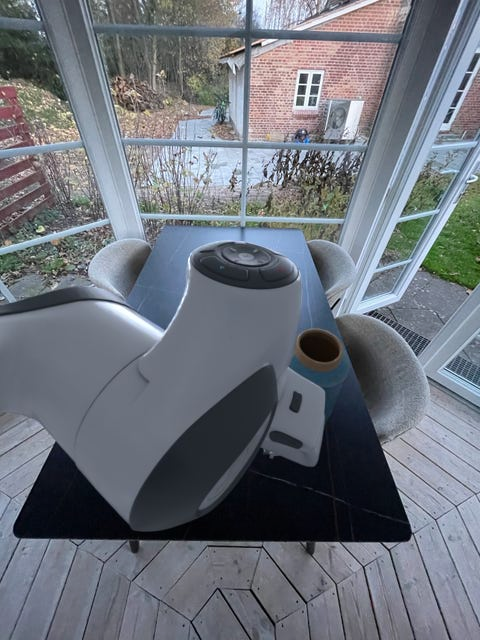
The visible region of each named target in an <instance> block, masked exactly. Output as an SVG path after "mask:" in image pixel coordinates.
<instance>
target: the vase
mask: <svg viewBox="0 0 480 640" xmlns="http://www.w3.org/2000/svg"><path fill="white" fill-rule="evenodd" d="M289 368H290V369H291V370H293V371H294V372H296V373H297V374H299V375H300V376H302V377H304V378H305V379H307V380H309V381H310V382H312V383H314V384H316V385H318V386H319V387H321V388H322V389H323V390H324V391H325V409H324V415H325V424H324V428H326V426H327V424H328V421H329V420H330V417H331V415H332V413H333V411H334V408H335V405H336V403H337V400H338V398H339V396H340V394H341V392H342V389H343V387H344V384H345V382H346V380H347V378H348V377H349V373H350V368H351V363H350V359H349V356H348V354H347V352H346V350H345V349H344V346H343V344H342V341H341V340H340V339H339V338H338V336H336V335H335V334H333V333H332V332H330V331H328V330H326V329H321V328H309V329H306V330H304V331H302V332H301V333H298V337H297V342H296V347H295V350H294V354H293V357H292V361H291V363H290V365H289Z"/></svg>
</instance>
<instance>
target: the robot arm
mask: <svg viewBox="0 0 480 640" xmlns="http://www.w3.org/2000/svg"><path fill="white" fill-rule="evenodd" d="M185 267H186V268H185V275H184V276H185V278H184V291H183V295H182V297H181V300H180V302H179V304H178V307H177V308H176V311H175V313H174V315H173V317H172V319H171V320H170V322H169V323H168V325H167V326H166V329H164V328H162V327H161V326H159V325H158V324H156V323H154V322H153V321H151V320H150V319H148V318H147V317H145V316H144V315H143V314H142V313H141V312H139V311H138V310H137V309H135V308H134V307H133V306H132V305H130V304H129V303H128V302H126V301H125V300H124V299H122V298H121V297H120V296H119V295H117V294H116V293H114V292H112V291H110V290H108V289H104V288H101V287H96V286H88V285H87V286H86V285H77V286H69V287H62V288H58V289H54V290H53V289H52V290H49V291H46V292H43V293H39V294H36V295H33V296H30V297H26V298H23V299H20V300H17V301H16V300H15V301H12V302H9V303H4V304H0V414H13V415H18V416H19V415H20V416H23V417H26V418H29V419H31V420H34V421H36V422H38V423H39V424H40V425H41V427H43V429H44V430H45V431H46V432H47V433H48V434H49V436H51V437H52V438H53V440H54V441H55V442H56V444H58V445H59V446H60V448H61V449H62V450H63V451H64V452H65V454H67V456H68V457H69V458H70V459H71V460H72V461H73V462H74V463H75V466H76V468H77V469H78V470H79V472H80V473H81V474H82V475H83V476H84V478H86V480H87V481H88V482H89V483H90V484H91V485H92V486H93V488H94V489H95V490H96V491H97V492H98V494H100V496H102V498H104V500H105V501H106V502H107V503H108V504H109V505H110V506H111V507H112V508H113V510H115V512H116V513H117V514H118V515H119V516H120V517H121V518H122V519H123V520H124V521H125V522H126V523H127V524H128V525H129V527H130V529H131V530H132V531H134V532H135V531H136V532H158V531H164V530H168V529H172V528H175V527H178V526H181V525H184V524H187V523H189V522H191V521H195V520H197V519H199V518H201V517H203V516H205V515H207V514H208V513H210V512H212V511H213V510H214V509H216V507H218V506H219V504H221V503H222V502H223V501H224V500H225V499H226V497H227V496H228V495H229V494H230V493H231V492H232V490H233V489H234V488H235V487H236V486H237V484H238V483H239V482H240V480H241V479H242V478H243V477H244V476H245V473H246V472H247V471H248V469H249V468H250V467H251V464H252V463H253V461H254V460H255V458H256V456H257V454H258V453H259V451H260V449H263V452H262V455H263V456H264V457H267V458H270V459H271V460H273V459H274V457H283V458H284V459H287V460H290V461H292V462H294V463H297V464H299V465H301V466H304V467H309V468H314V467H315V466H316V465H317V464H318V462H319V459H320V454H321V448H322V443H323V436H324V430H325V427H324V424H325V415H324V409H325V391H324V390H323V389H322V388H321V387H319V386H318V385H316V384H314V383H312V382H310V381H309V380H307V379H305V378H304V377H302V376H300V375H299V374H297V373H296V372H294V371H293V370H291V369H290V368H289V365H290V363H291V361H292V357H293V354H294V350H295V347H296V342H297V337H298V334H299V333H300V332H299V331H300V326H301V319H302V309H303V295H304V293H303V291H304V289H303V288H304V287H303V278H302V273H301V271H300V268H299V267H298V265H296V263H295V262H293V261H292V260H291V259H290V258H288V256H286V255H284V254H282V253H280V252H278V251H275V250H274V249H271V248H269V247H266V246H263V245H261V244H258V243H257V244H256V243H253V242H249V241H247V240H246V241H243V240H242V241H241V240H240V241H239V240H233V239H226V240H223V239H222V240H216V241H212V242H209V243H206V244H204V245H201V246H198V247H197V248H195V249H194V250H193V251H192V252H191V253H190V254H189V256H188V259H187V263H186V266H185Z"/></svg>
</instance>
